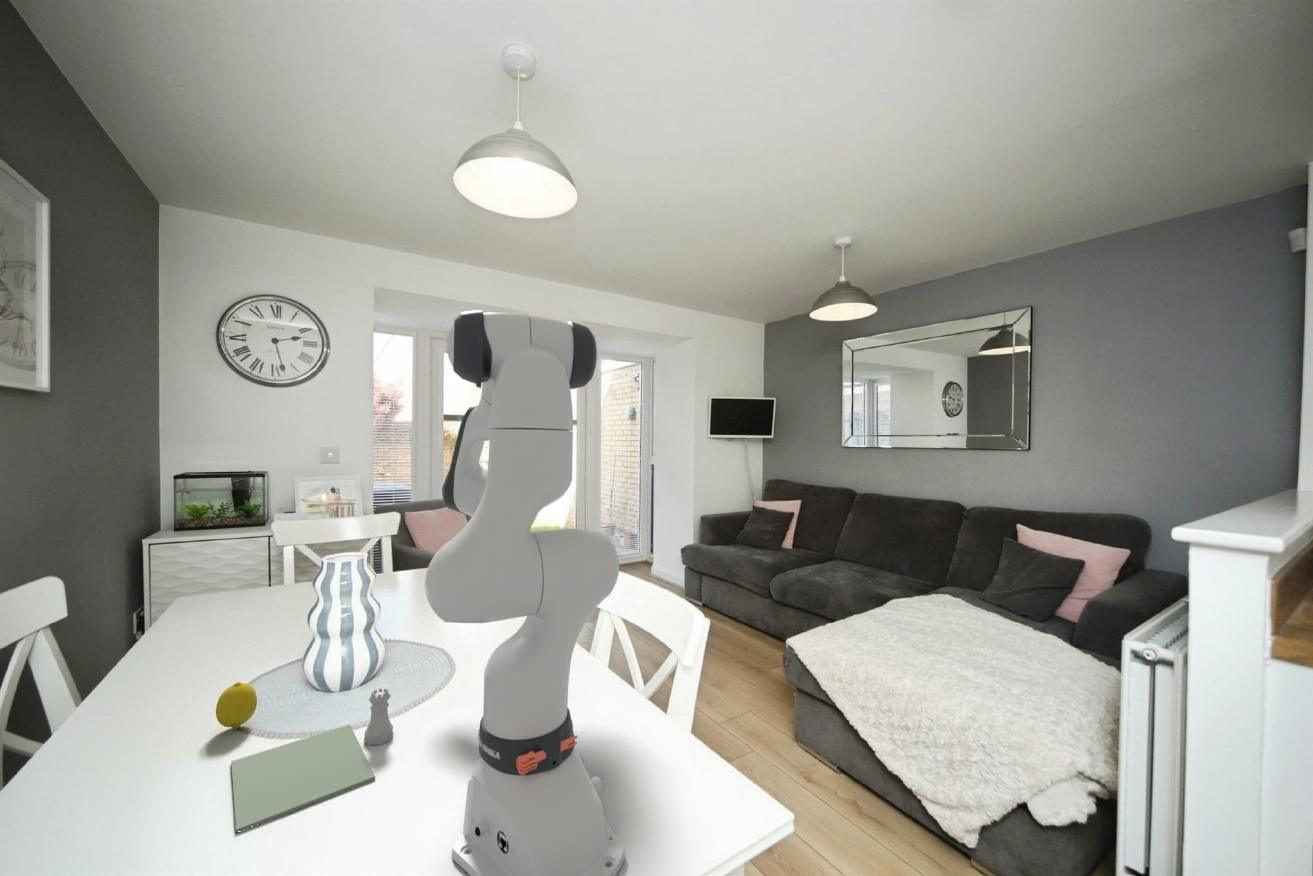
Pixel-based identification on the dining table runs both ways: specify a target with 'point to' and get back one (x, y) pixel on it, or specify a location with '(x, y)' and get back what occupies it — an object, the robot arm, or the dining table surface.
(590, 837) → the robot arm
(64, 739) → the dining table surface
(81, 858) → the dining table surface
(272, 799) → the grayish green thin book
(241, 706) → the lemon
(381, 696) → the rook chess piece
